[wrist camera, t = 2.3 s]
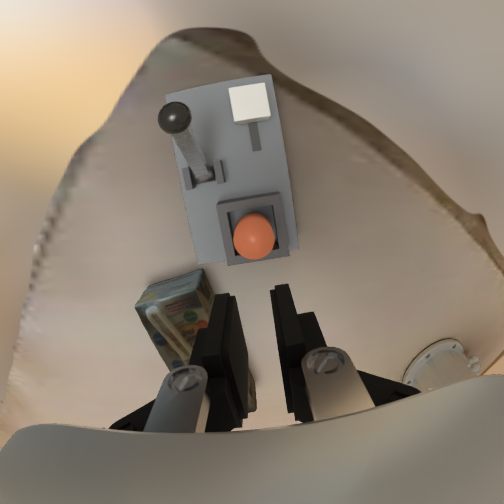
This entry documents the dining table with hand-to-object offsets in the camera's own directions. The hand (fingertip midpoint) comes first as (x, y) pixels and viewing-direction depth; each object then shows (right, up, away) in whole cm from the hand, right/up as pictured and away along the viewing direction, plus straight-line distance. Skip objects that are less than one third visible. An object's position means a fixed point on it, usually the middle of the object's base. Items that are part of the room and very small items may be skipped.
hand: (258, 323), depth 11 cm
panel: (-2, +12, +18) cm, 22 cm away
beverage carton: (-6, -8, +25) cm, 27 cm away
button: (0, +5, +14) cm, 15 cm away
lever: (-4, +10, +14) cm, 17 cm away
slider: (0, +16, +13) cm, 20 cm away
